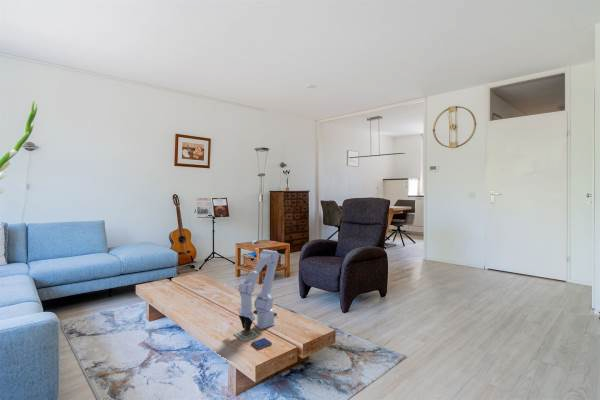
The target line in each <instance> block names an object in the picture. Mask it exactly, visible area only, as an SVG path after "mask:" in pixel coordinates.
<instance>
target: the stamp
mask: <svg viewBox="0 0 600 400" xmlns="http://www.w3.org/2000/svg"><path fill="white" fill-rule="evenodd" d="M251 329H252V328H250V330H248V331H246V326H245V322H244V329H243V330H241V333H242V334H243V335H245V336H246V335H249V334H252V330H253V329H252V330H251Z"/></svg>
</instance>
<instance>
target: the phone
mask: <svg viewBox="0 0 600 400" xmlns="http://www.w3.org/2000/svg"><path fill="white" fill-rule="evenodd" d="M253 314H256V315H257V310H256V309H254V310H253ZM276 316H278V313H277V312H274V317H276Z"/></svg>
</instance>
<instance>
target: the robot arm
mask: <svg viewBox="0 0 600 400" xmlns="http://www.w3.org/2000/svg"><path fill="white" fill-rule="evenodd" d="M279 258H280V254H279V252H278V251H277V250H271V249H266V248H264V249H262V250H261V251H260V253H259V259H258V261H257V263H256V265H255V267H254V269H253V270H252V271H250V272H249V273H248V275H247V276H246V278H245V280H244V282H241V283H240V284H239V286H238V292H239V296H240V308H238V313H239V315H238V318H239V319H240V322H241V325H242V329H243V330H244V322H245V326H246V331H248V330H250V329H252V323H253V321H255V319H256V317H257V319H256V320H257V322H256V323H254V326H256V327H257V328H259V329H260V330H263V329H266V328H269V327H273V326H275V316H274V313H275V312H274V310H273V306H274V304H273V302H274V300H273V299H274V298H273V297H272V296H271V292H272V287H273V282H274V278H275V273H276V269H277V265H278V262H279ZM265 265H266V266H267V267H266V271H265V275H264V279H263V282H262V287H261V291H260V293H258V294H257V295H256V298H255V300H254V302H253V301H252V298H253V297H252V296H253V295H252V294H253V292H254V290H255V286H256V285H255V284H256V283H257V281H258V280H259V278H260V273H261V271H262V270H263V268H265ZM252 302H253V304H252ZM252 305H253V306H254V308H255V310H257V314H256V315H257V316H256V317H255V315H254V312H253V311H252V310H253V308H252V307H253V306H252Z"/></svg>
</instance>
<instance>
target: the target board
mask: <svg viewBox="0 0 600 400" xmlns="http://www.w3.org/2000/svg"><path fill="white" fill-rule="evenodd" d="M250 329H251V330H252V334H249V335H246V336H245V335H243V334H242V333H241V331H242V330H241V331H237V332H235V333H233V335H234V336H236V337H237V338H238V339H239V340H240V341H242V342H245V341H248V340H251V339H254V338H258V337H259V336H260V334H258V332H256V331H254V330H253V329H252V328H250Z"/></svg>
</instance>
